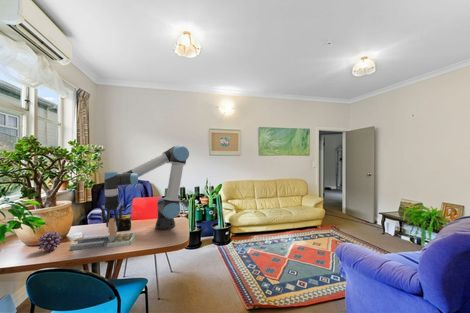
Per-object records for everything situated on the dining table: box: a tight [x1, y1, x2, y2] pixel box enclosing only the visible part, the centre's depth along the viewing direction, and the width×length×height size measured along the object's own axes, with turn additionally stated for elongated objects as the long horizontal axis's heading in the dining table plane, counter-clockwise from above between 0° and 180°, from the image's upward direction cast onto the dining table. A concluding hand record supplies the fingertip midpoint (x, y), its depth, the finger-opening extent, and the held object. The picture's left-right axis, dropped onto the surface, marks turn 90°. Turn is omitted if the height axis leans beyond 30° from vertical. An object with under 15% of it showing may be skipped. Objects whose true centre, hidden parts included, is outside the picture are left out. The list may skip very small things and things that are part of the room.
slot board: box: [69, 234, 114, 252], centre depth 132 cm, size 20×14×4 cm
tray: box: [107, 232, 137, 248], centre depth 137 cm, size 13×16×3 cm
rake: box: [108, 217, 118, 241], centre depth 135 cm, size 3×6×13 cm, turn 15°
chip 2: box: [121, 233, 131, 242], centre depth 137 cm, size 4×4×4 cm
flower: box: [36, 230, 64, 253], centre depth 126 cm, size 12×12×12 cm
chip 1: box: [114, 233, 124, 242], centre depth 136 cm, size 4×4×4 cm
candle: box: [116, 214, 132, 233], centre depth 162 cm, size 10×10×10 cm
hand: (112, 231), depth 135 cm, fingers closed on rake, 3 cm apart
